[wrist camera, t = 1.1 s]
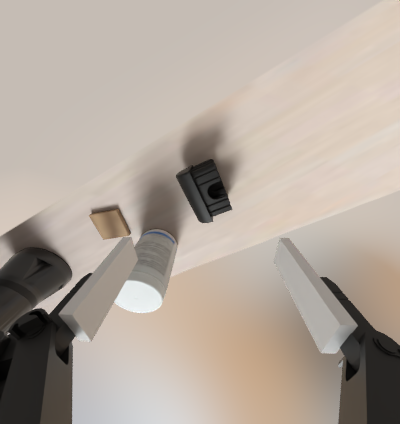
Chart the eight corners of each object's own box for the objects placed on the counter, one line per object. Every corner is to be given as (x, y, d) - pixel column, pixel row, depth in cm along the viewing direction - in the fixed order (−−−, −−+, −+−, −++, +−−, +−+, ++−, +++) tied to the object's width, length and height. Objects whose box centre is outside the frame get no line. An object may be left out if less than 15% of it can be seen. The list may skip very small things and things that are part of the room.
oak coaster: (105, 237, 39) (103, 239, 38) (91, 213, 36) (88, 215, 35) (130, 233, 38) (128, 235, 37) (118, 208, 35) (116, 210, 34)
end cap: (179, 170, 30) (172, 179, 24) (211, 155, 29) (212, 160, 23) (199, 211, 34) (197, 227, 28) (229, 200, 33) (234, 214, 26)
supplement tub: (135, 231, 37) (95, 282, 24) (170, 223, 36) (149, 274, 23) (150, 259, 41) (124, 316, 28) (182, 254, 40) (170, 311, 27)
